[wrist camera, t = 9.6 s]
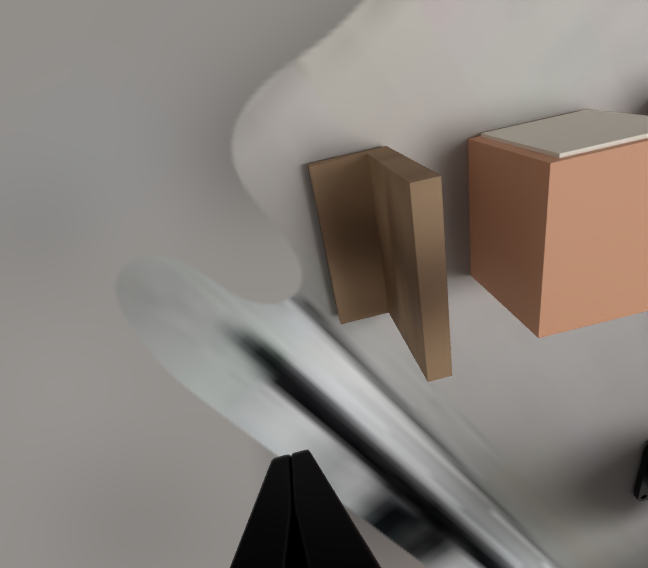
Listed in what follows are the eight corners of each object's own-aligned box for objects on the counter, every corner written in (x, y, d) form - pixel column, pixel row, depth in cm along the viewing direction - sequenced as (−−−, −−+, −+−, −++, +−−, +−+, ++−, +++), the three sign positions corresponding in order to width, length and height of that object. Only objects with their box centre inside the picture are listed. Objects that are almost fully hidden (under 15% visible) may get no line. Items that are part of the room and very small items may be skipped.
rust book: (577, 248, 22) (678, 303, 17) (470, 274, 22) (538, 337, 17) (592, 106, 19) (724, 118, 14) (466, 134, 19) (550, 158, 13)
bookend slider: (403, 301, 22) (452, 375, 16) (338, 317, 22) (366, 397, 16) (386, 145, 18) (441, 175, 13) (307, 163, 18) (329, 201, 13)
